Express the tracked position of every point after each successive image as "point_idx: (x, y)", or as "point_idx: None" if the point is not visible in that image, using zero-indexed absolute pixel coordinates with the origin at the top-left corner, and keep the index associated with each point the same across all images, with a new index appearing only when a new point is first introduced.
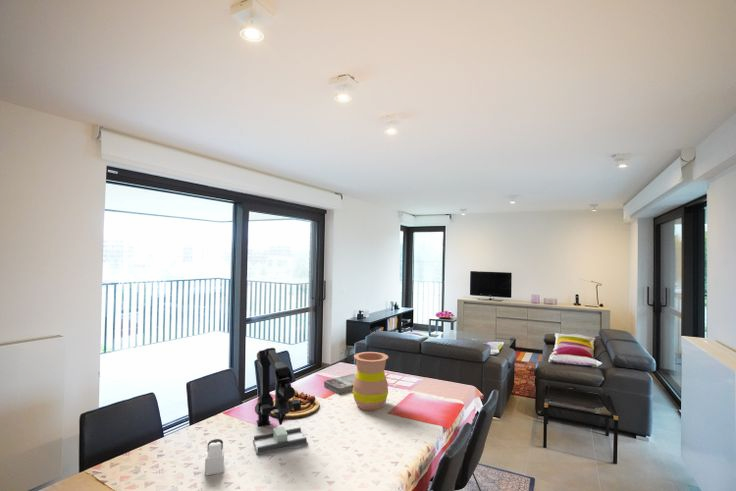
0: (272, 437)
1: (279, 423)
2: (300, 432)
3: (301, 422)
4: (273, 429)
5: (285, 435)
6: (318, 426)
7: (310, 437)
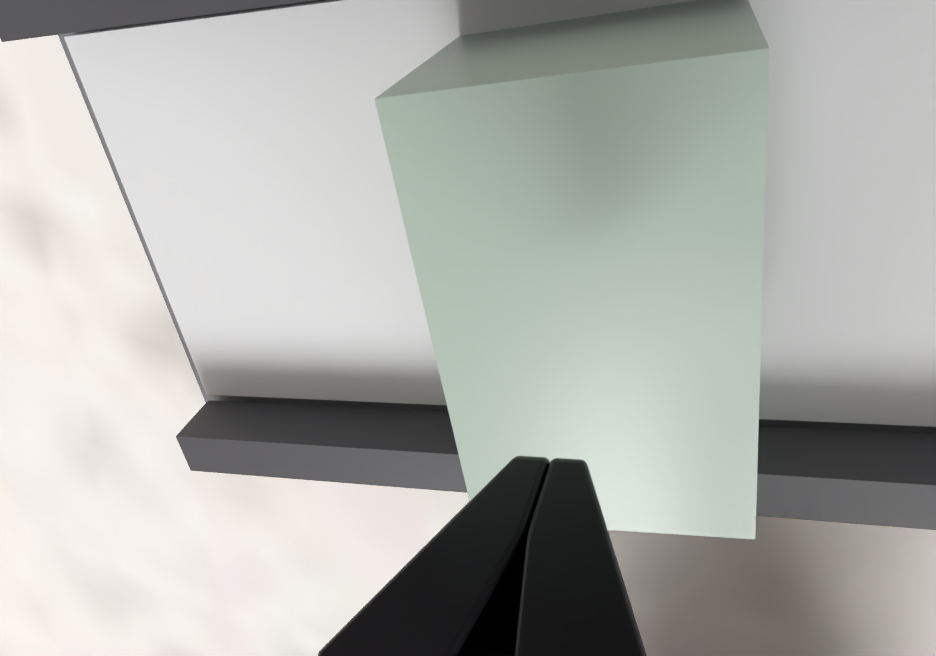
0: None
1: (600, 512)
2: (209, 372)
3: (249, 629)
4: (754, 517)
5: (455, 75)
6: (20, 465)
7: (64, 217)
